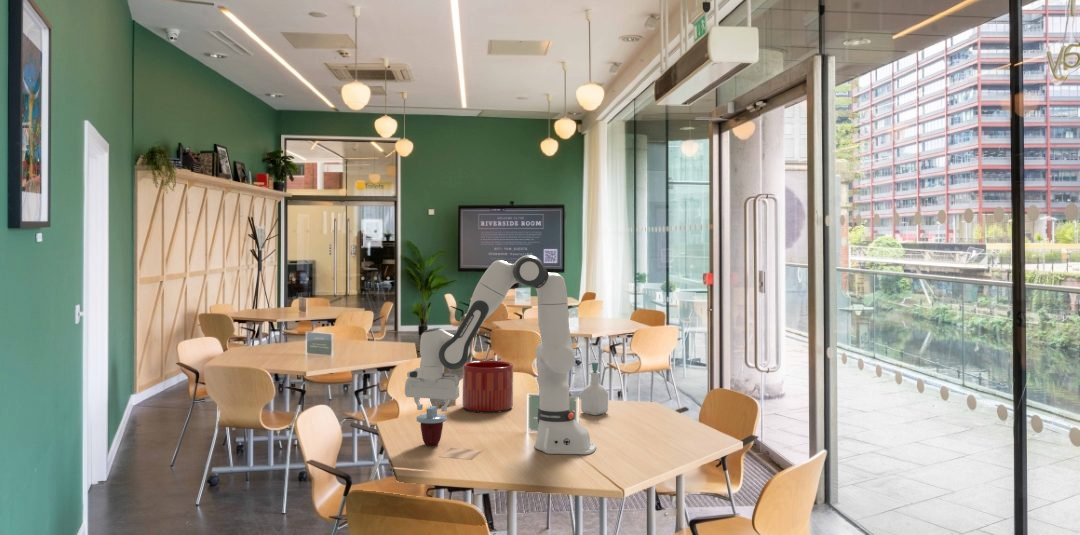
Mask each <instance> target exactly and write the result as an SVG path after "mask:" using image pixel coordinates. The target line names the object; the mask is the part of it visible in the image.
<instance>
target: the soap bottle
mask: <svg viewBox="0 0 1080 535" xmlns="http://www.w3.org/2000/svg"><path fill="white" fill-rule="evenodd" d="M590 365H591V368H592V371H590V372H589V375H590V382H589V384H587V385H586V386H585V387H584V388H583V390H582V391H581V393H580V396H581V397H580V398H581V399H580V400H581V401H580V409H581V412H582V413H583V414H587V415H592V416H598V415H603V414H606V413H608V411H609V393H608V390H607V389H606V388H605V387H604V386H603V385H602V384H601V383H600V381H599V380H600V379H599V376H600V374H601V372H600V371H598V367H599V362H597V361H595V362H591V363H588V366H590Z"/></svg>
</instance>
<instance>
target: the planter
mask: <svg viewBox="0 0 1080 535" xmlns="http://www.w3.org/2000/svg"><path fill="white" fill-rule="evenodd" d="M513 406H514V364H513V363H512V362H508V361H503V360H502V361H501V360H474V361H466V363H465V364H464V365H463V366H462V407H463V409H465V410H467V411H469V412H472V411H474V412H475V413H480V412H495V413H500V412H499V411H502V412H506V411H508V410H510V409H511V408H512V407H513ZM505 410H506V411H505Z"/></svg>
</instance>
